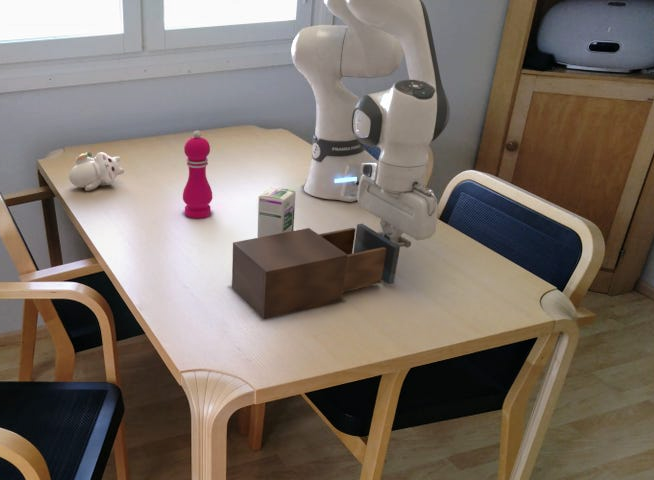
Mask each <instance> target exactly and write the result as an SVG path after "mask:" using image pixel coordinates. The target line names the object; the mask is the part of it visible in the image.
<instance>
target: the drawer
mask: <svg viewBox="0 0 654 480" xmlns="http://www.w3.org/2000/svg"><path fill="white" fill-rule="evenodd" d="M392 233H393V230H392ZM317 234H318V235H320V236H321V237H323V238H324V239H326V240H327V241H328V242H330V243H331V244H333V245H334V246H336V247H337V248H338V249H340V250H341V251H343V252H344V253H346V254H347V255H348V256H347V264H346V272H345V279H344V287H343V293H344V292H348V291H352V290H357V289H361V288H366V287H370V286H375V285H379V284H382V282H384V283H386V284H387V285H392V284H394V283H395V280H396V279H395V278H396V272H397V267H398V263H399V262H398V261H399V255H400V250H401V248H403V247H404V248H406V249H409V248H410V247H411V245H412V241H411V240H409V239H407V238H405V237H404V236H402V235H401V236H400V237H399V242H398V244H395V243H393V242H392V241H390V240H388V239H387V238H385V237H383V233H382V231H379V232H377V231H375V230H374V229H372V228H371V227H369V226H367V225H366V224H364V223H357V224H356V228H355V227H348V228H344V229H338V230H334V231H329V232H323V233H317Z"/></svg>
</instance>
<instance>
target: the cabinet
mask: <svg viewBox="0 0 654 480" xmlns="http://www.w3.org/2000/svg"><path fill="white" fill-rule="evenodd" d="M318 234H319V233H317V232H315V231H314V230H313V229H312V228H311V227H307V228H302V229H296V230H293V231H291V232H285V233H280V234H275V235H270V236H264V237H259V238H258V237H254V238H249V239H243V240H239V241H234V242H232V267H231V268H232V269H231V288H232V290H234V292H236V293H237V294H238V296H240V297H241V298H242V299H243V300H244V301H245V302H246V303H247V305H249V306H250V307H251V308H252V309H253V310H254V311H255V312H256V313H257V315H259V316H260V317H261V318H262V320H266V319H270V318H275V317H279V316H282V315H287V314H292V313H297V312H302V311H306V310H309V309H314V308H319V307H324V306H327V305H331V304H335V303H341V302H343V294H344V292H343V287H344V279H345V272H346V264H347V256H348V255H347V254H346V253H344V252H343V251H341V250H340V249H338V248H337V247H336V246H334V245H333V244H331V243H330V242H328V241H327V240H326V239H324V238H323V237H321V236H320V235H318Z"/></svg>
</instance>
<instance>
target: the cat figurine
mask: <svg viewBox="0 0 654 480" xmlns="http://www.w3.org/2000/svg"><path fill="white" fill-rule="evenodd" d="M74 159H75V164H76V165H75V166H74V167H72V169H71V170H70V172H69V175H68V179H69V182H70V183H71V184H72V185H73V187H74V186H75V187H77V188H80V189H84V190H85V191H86V192H90V191H93V190H94V189H96V188H98V186H103V187H104V186H107V185H109V184H112V183H113V182H114V181H115V180H116V178H117V177H118V176H119V175H123V174H124V173H125V170H124V169H123V167H120V165H119V163H120V160H121V158H120V156H118V155H117V156H114V157H112V156H110V155H108V154H107V153H106V152H97V153H96V155H95V157H93V153H92V152H89V151H88V152H85V153H81V154H80V155H78V156H77V157H75V158H74Z"/></svg>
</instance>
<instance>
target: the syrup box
mask: <svg viewBox="0 0 654 480" xmlns="http://www.w3.org/2000/svg"><path fill="white" fill-rule="evenodd" d="M257 204H258V206H257V238H259V237H264V236H270V235H275V234H280V233H285V232H291V231H294V224H295V212H296V211H295V208H296V191H295V190H291V189H288V188H284V187H272V186H271V187H270V188H269V189H267V190H266V191H264V192H263V193H261V194H260V195H258V203H257Z"/></svg>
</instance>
